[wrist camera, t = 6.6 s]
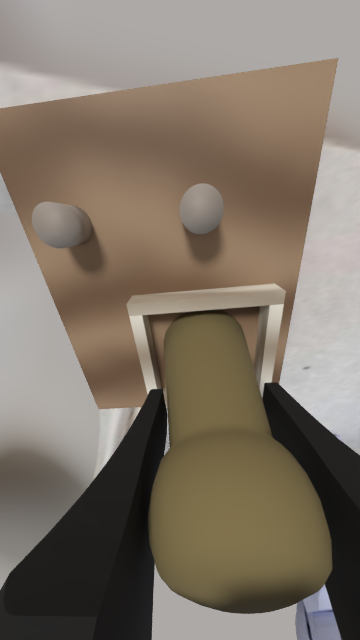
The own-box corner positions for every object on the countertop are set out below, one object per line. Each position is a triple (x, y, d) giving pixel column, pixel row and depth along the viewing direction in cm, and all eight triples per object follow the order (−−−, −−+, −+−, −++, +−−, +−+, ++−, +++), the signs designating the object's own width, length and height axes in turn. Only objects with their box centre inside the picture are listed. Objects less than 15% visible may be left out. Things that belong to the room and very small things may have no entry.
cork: (236, 377, 16) (323, 632, 6) (162, 373, 16) (127, 623, 6) (253, 309, 13) (464, 574, 3) (164, 304, 13) (103, 558, 3)
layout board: (270, 389, 18) (286, 421, 15) (103, 398, 19) (89, 429, 16) (319, 77, 9) (382, 10, 6) (-3, 123, 10) (-77, 84, 7)
